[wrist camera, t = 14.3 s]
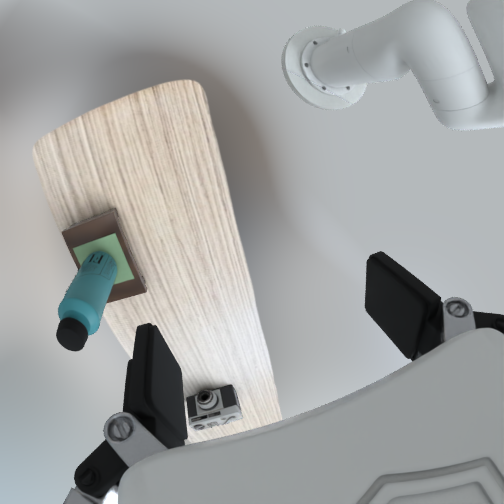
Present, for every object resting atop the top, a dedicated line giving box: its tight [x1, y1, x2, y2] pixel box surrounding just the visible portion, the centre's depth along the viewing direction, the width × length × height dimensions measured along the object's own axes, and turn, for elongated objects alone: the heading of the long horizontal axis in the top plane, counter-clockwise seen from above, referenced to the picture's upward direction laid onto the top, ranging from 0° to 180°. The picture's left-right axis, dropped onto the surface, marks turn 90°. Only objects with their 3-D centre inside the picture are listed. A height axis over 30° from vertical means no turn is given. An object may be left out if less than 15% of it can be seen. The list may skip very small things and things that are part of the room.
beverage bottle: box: [56, 251, 117, 351], centre depth 35 cm, size 6×7×20 cm
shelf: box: [62, 208, 147, 303], centre depth 45 cm, size 16×11×4 cm
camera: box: [186, 385, 243, 431], centre depth 64 cm, size 14×8×10 cm, turn 107°
